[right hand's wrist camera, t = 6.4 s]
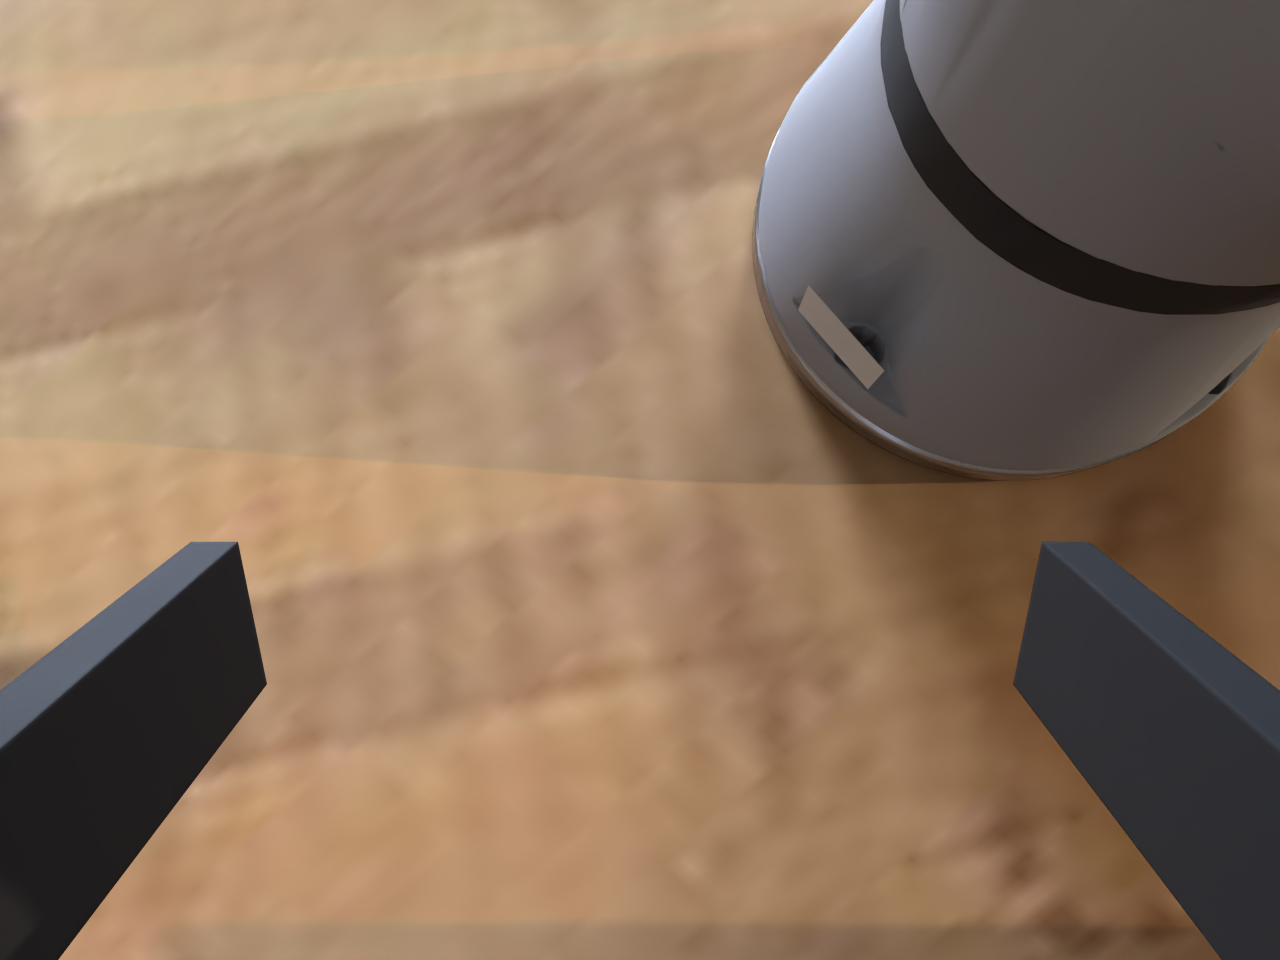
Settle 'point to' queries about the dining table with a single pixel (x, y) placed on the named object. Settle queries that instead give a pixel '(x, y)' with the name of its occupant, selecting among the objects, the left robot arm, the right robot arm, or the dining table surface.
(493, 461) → the dining table surface
